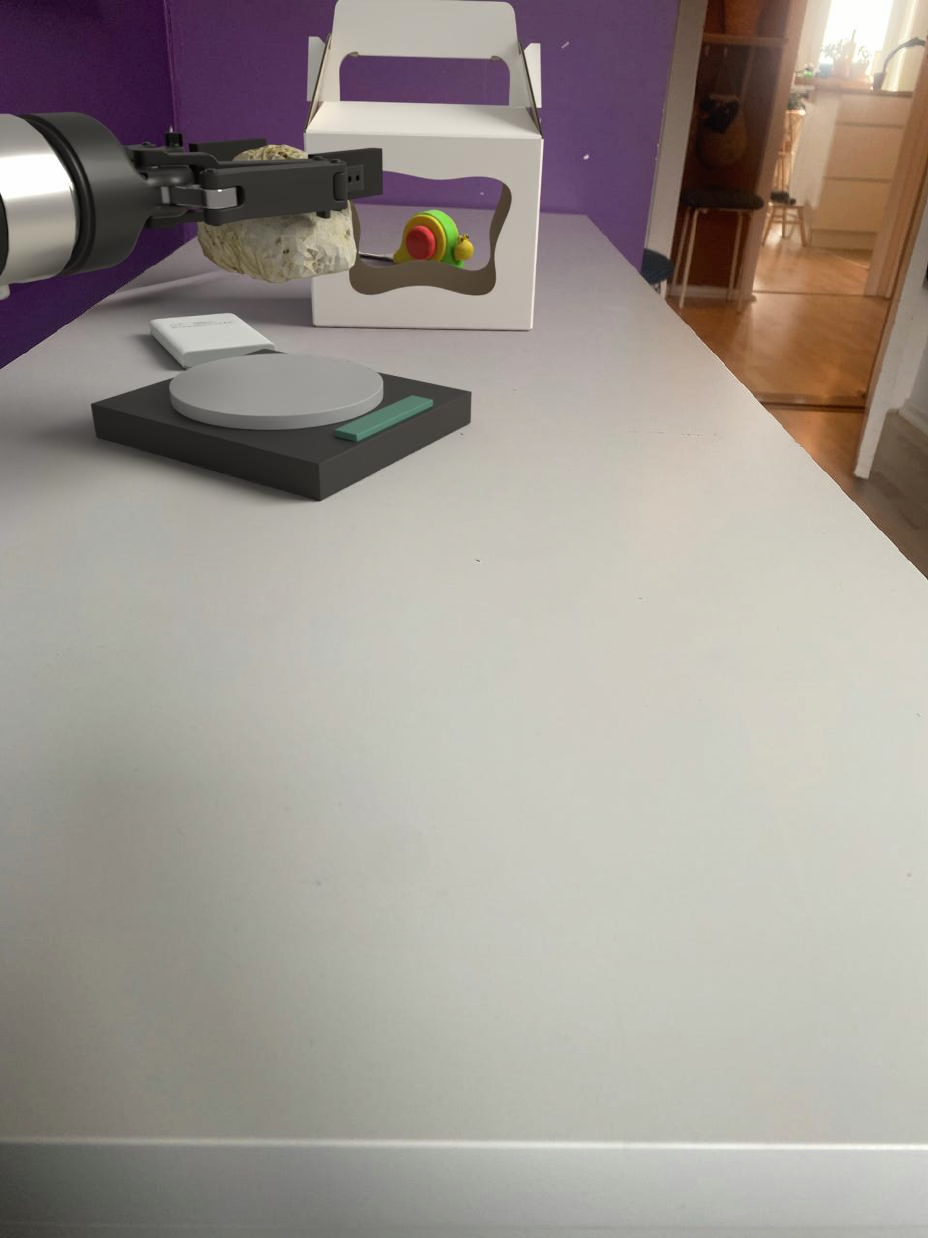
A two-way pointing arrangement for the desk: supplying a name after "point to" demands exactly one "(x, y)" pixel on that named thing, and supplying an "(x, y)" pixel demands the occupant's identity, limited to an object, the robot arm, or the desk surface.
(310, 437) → the scale
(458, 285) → the gable box
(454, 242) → the toy measuring tape
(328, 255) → the decorative item
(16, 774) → the desk surface
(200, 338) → the hard drive
